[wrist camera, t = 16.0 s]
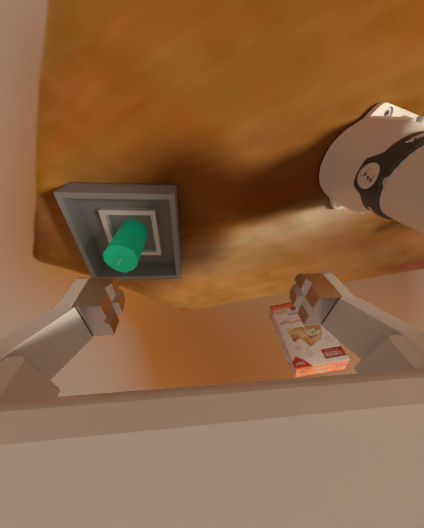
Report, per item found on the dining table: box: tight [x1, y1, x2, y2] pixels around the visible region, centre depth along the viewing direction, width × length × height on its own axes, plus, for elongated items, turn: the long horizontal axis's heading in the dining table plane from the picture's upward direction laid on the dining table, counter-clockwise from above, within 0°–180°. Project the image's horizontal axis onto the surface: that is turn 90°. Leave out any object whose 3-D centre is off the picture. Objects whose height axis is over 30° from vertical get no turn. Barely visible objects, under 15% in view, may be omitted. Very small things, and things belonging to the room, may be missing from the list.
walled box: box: [53, 182, 182, 280], centre depth 41 cm, size 20×20×6 cm
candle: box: [103, 220, 148, 273], centre depth 38 cm, size 6×6×12 cm
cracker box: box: [270, 303, 349, 377], centre depth 58 cm, size 14×6×21 cm, turn 101°
